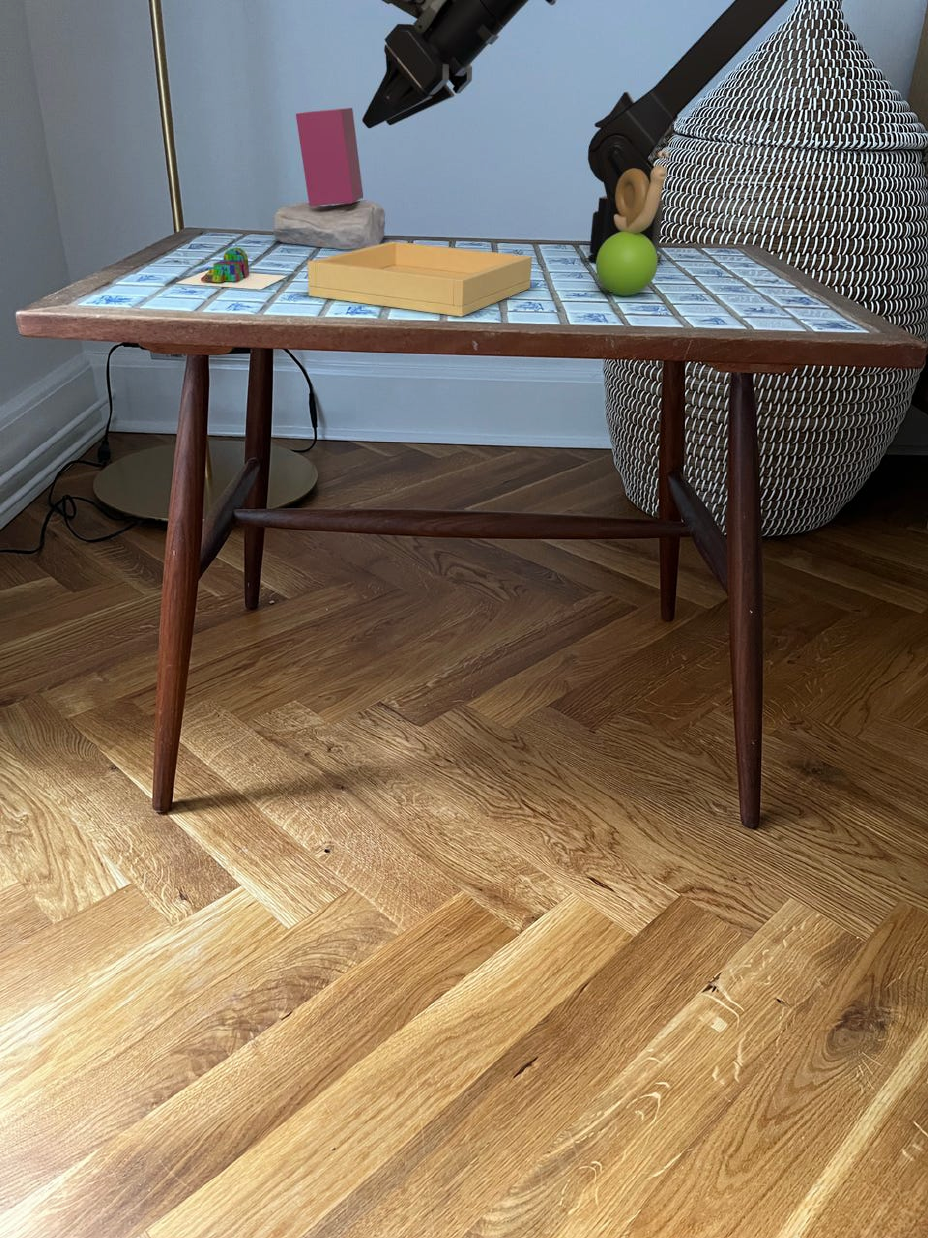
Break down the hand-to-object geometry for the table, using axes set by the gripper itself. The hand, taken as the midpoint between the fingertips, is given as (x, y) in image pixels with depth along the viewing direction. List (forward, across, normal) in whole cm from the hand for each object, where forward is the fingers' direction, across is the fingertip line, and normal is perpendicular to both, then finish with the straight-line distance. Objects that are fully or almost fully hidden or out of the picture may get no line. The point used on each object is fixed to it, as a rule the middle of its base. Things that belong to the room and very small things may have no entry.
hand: (376, 122), depth 101 cm
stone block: (+13, 0, +5) cm, 14 cm away
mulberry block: (+9, -1, +2) cm, 9 cm away
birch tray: (+1, +24, +16) cm, 29 cm away
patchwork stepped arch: (+14, +24, +4) cm, 28 cm away
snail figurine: (-11, +20, +29) cm, 37 cm away
